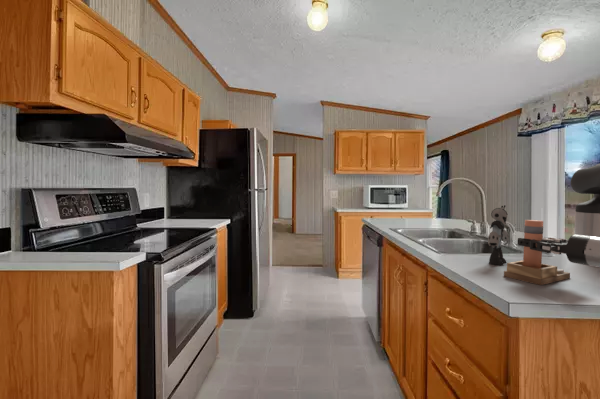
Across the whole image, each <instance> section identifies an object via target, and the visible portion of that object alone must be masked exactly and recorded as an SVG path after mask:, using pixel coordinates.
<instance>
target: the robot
mask: <svg viewBox="0 0 600 399" xmlns="http://www.w3.org/2000/svg"><path fill="white" fill-rule="evenodd" d="M505 209H506V205H501V207H496V208H494V209H493V210H491V214H490V216H491V218H492V219H494V221H492V222H491V224H490V225H489V226H490V227H489V229H492V231H491V232H490V233H489V234H488V238H487V243H488V247H489V248H493V249H492V251H491V253H490V255H489V259H488V260H489V261H488V264H489V265H493V266H499V267H500V266H504V264H507V263H508V262H507V260H506V259H505V258H504V254H503V250H502V242H508V241H509V239H510V235H509V233H508V231H507V230H506V229H505V227H506V226H505V225H507V218H508V211H506V210H505Z"/></svg>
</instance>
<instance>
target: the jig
mask: <svg viewBox="0 0 600 399" xmlns="http://www.w3.org/2000/svg"><path fill="white" fill-rule="evenodd" d="M503 277H506V278H509V279H514V280H518V281H523V282H527V283H531V284H534V285H538V286H543V285H547V284H551V283H556V282H560V281H563V280H566V279H571V272H568V271H565V270H564V269H561V268H558V266H557V265H552V264H546V263H542V264H541V268H540V269H537V268H532V267H528V266H523V260H517V261H511V262H507V263H506V270H504V271H503Z"/></svg>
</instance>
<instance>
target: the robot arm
mask: <svg viewBox="0 0 600 399" xmlns="http://www.w3.org/2000/svg"><path fill="white" fill-rule="evenodd" d="M570 187H571V189H572V190H573V191H574V192H575V193H578V194H582V195H593V196H592V198H591V199H589V200H587V201H583V202H580V203H577V204H576V205H575V213H574V227H573V228H574V231H573V234H572V235H570V237H568V239H567V238H556V237H548V238H547V237H543V239H542V240H535V239H525V238H524V237H519V238H517V245H518V246H520V247H524V246H525V247H530V249H531V250H536V251H541V252H542V253H545V254H551V253H552V254H554V255H562V254H565V255H566V258H567V260H568V261H569V262H570V263H573V264H579V265H583V266H591V267H597V268H600V163H597V164H595V165H593V166H590V167H587V168H586V167H585V168H580V169H578V170H576V171H575V172H574V173H573V174H572V176H571V179H570ZM536 244H537V247H536Z"/></svg>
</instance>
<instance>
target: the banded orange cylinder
mask: <svg viewBox="0 0 600 399" xmlns="http://www.w3.org/2000/svg"><path fill="white" fill-rule="evenodd" d="M523 227H524V229H523V230H524V234H523V236H524V237H523V238H525V239H535V240H542V239H543V238H544V220H536V219H524V226H523ZM536 247H537V244H536ZM542 256H543V252H541V251H536V250H531V249H530V247H525V246H523V256H522V257H523V266H528V267H532V268H537V269H540V268H541V264H543V263H542V261H543V260H542Z"/></svg>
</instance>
